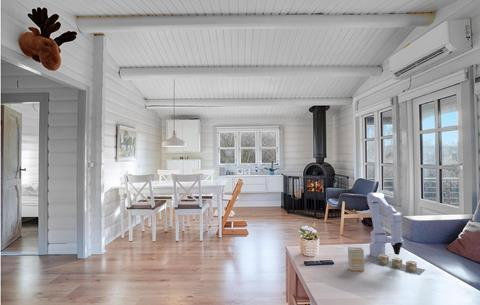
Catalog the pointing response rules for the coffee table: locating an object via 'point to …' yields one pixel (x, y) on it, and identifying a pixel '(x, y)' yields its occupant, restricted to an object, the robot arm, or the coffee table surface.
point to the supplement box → (356, 259)
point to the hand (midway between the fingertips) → (396, 254)
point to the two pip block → (383, 259)
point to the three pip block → (411, 265)
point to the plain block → (397, 262)
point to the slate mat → (403, 268)
